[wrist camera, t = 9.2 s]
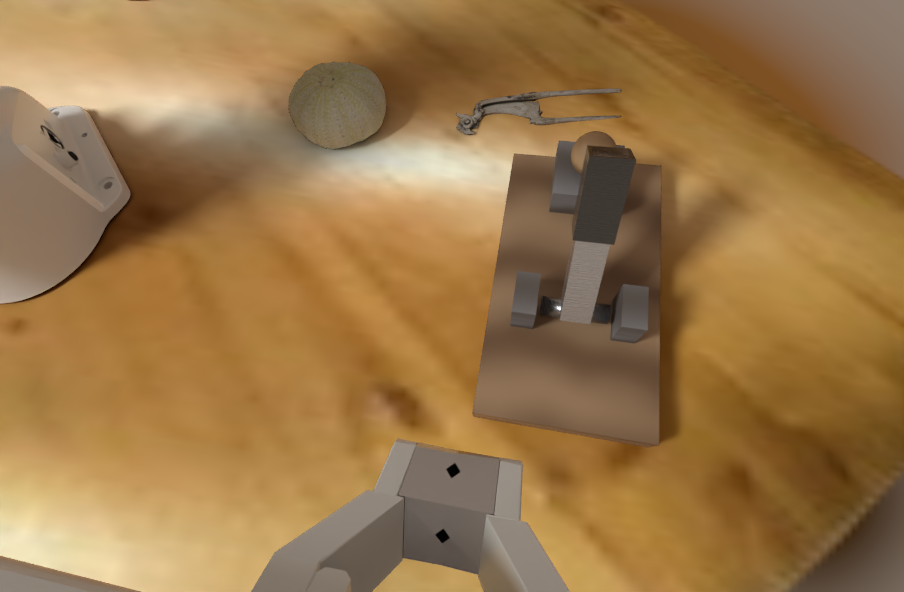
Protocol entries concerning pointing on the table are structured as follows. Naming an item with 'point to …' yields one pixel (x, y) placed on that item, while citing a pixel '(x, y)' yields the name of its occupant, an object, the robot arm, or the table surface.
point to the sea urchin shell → (337, 104)
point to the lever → (593, 234)
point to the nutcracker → (524, 108)
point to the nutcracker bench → (569, 343)
